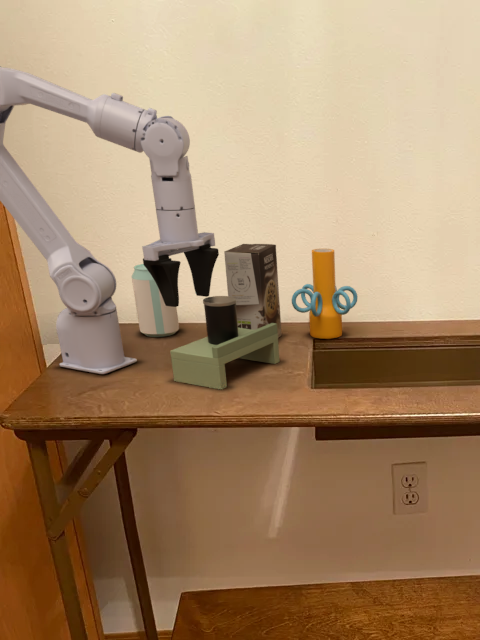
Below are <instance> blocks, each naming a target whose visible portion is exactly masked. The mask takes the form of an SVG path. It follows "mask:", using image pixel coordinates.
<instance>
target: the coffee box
mask: <svg viewBox="0 0 480 640" xmlns="http://www.w3.org/2000/svg"><path fill="white" fill-rule="evenodd" d="M223 252H224V264H225V277H226V286H227V296H230V297H234V298H236V312H237V323H238V328H244V329H251V330H256V329H258V328H261V327H263V326H266V325H268V324H271V323H276V324H277V331H278V339H279V338H280V337H281V336H282V333H283V332H282V319H281V318H282V317H281V304H280V291H279V290H280V289H279V275H278V274H279V273H278V260H277V259H278V258H277V244H273V243H241V244H239V245H237V246H235V247H232V248H230V249H227V250H224V251H223Z"/></svg>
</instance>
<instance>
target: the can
mask: <svg viewBox="0 0 480 640" xmlns="http://www.w3.org/2000/svg"><path fill="white" fill-rule="evenodd" d="M133 269H134V270H133V272H132V275H131V283H132V289H133V295H134V301H135V302H134V303H135V308H136V315H137V320H138V321H137V322H138V327H139V332H140V333H141V334H144V335H145V336H146V337H150V338H163V337H170V336H173V335H175V334H176V333H177V332H178V331H179V330H180V323H179V316H178V308H177V307H178V306H177V307H171V306H166V305H165V303H164V300H163V298H162V295H161V293H160V291H159V288H158V286H157V284H156V282H155V280H154V279H153V277H152V275H151V274H150V273H149V271H148V270H147V269H146V267H145V266H144V264H143V263H140V264H137V265H135V266H133Z"/></svg>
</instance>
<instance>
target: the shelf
mask: <svg viewBox="0 0 480 640" xmlns="http://www.w3.org/2000/svg"><path fill="white" fill-rule="evenodd" d="M238 334H239V336H238V337H236V338H233V339H231V340H228V341H226V342H223V343H221V344H218V345H213V344H210V343H209V342H208V336H205V337H201V338H200V339H197V340H194V341H192V342H189V343H187V344H184V345H182V346H179V347H176V348H174V349H171V350H170V352H169V353H170V360H171V368H172V374H173V375H172V377H173V382H178V383H183V384H189V385H194V386H199V387H205V388H210V389H215V390H224V389H226V388H228V384H227V375H226V374H227V373H226V364H228V363H230V362H232V361H235V360H236V359H241V360H249V361H254V362H260V363H267V364H274V365H276V364H278V363H280V362H281V361H280V346H279V338H278V331H277V324H276V323H271V324H268V325H266V326H263V327H261V328H258V329H256V330H251V329H244V328H238Z"/></svg>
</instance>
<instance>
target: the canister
mask: <svg viewBox="0 0 480 640" xmlns="http://www.w3.org/2000/svg"><path fill="white" fill-rule="evenodd" d="M202 299H203V300H202V304H203V308H204V316H205V326H206V333H207V334H206V335H207V337H208V342H209V343H210V344H213V345H218V344H221V343H223V342H226V341H228V340H231V339H233V338H236V337H238V336H239V334H238V323H237V312H236V298H234V297H230V296H228V295H213V296H208V297H205V298H202Z"/></svg>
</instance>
